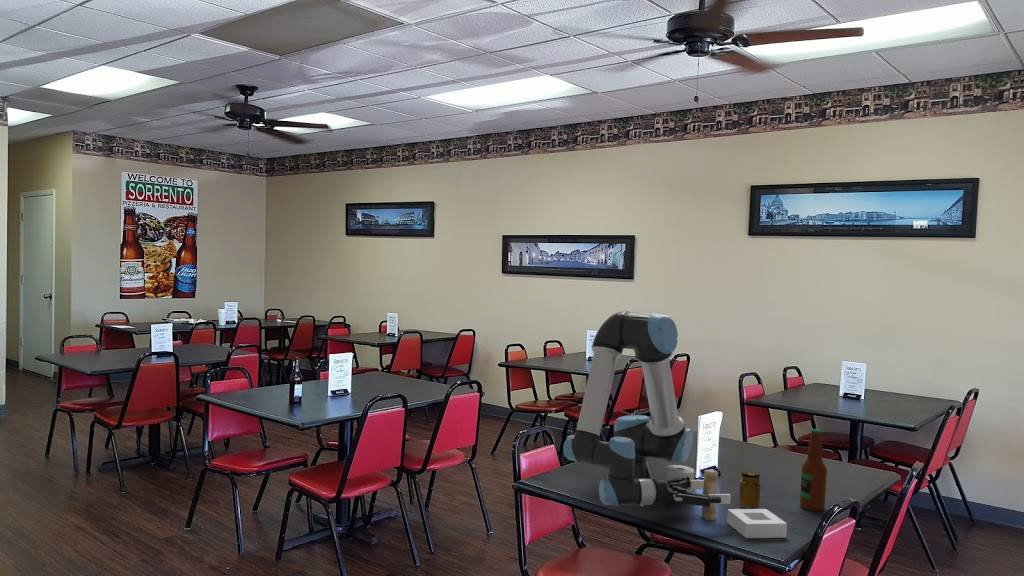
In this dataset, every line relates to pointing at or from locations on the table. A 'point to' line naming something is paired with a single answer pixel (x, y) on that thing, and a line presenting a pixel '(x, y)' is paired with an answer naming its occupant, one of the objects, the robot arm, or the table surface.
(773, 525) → the socket
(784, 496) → the table surface
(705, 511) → the dowel
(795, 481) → the table surface
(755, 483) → the condiment
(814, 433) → the bottle
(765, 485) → the table surface
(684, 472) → the toilet tissue
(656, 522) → the table surface
